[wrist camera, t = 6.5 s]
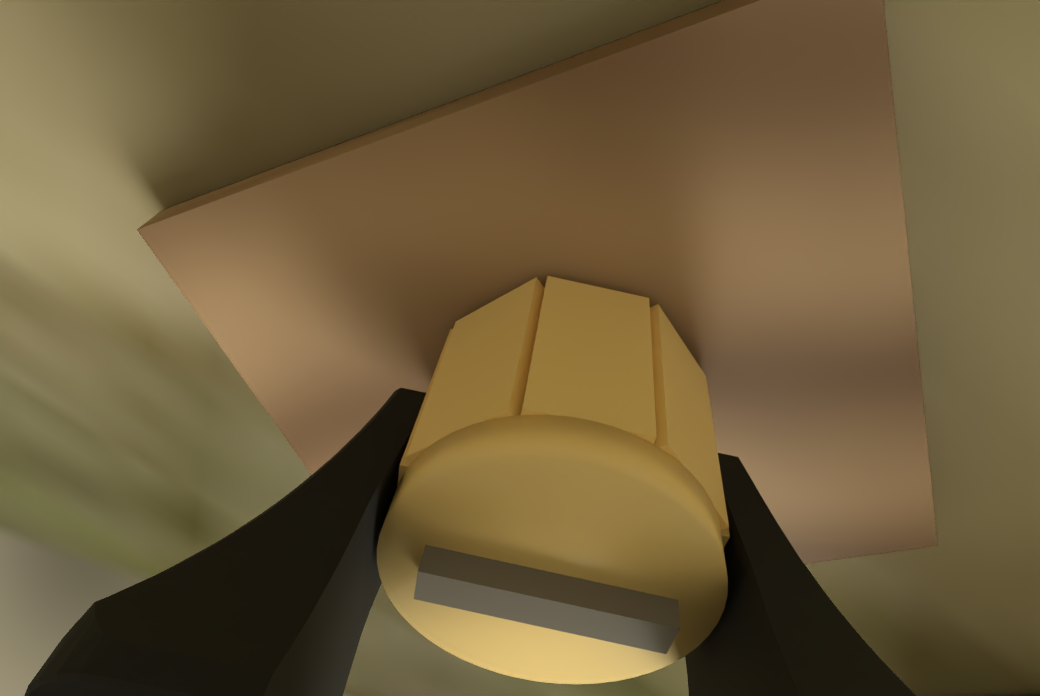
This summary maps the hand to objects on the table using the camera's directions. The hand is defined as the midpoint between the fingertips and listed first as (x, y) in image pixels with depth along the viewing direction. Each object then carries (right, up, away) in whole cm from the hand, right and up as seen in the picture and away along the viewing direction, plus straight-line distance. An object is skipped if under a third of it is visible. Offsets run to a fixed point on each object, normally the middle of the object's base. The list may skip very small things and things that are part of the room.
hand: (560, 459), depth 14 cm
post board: (0, +2, +2) cm, 3 cm away
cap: (0, +1, +1) cm, 2 cm away
